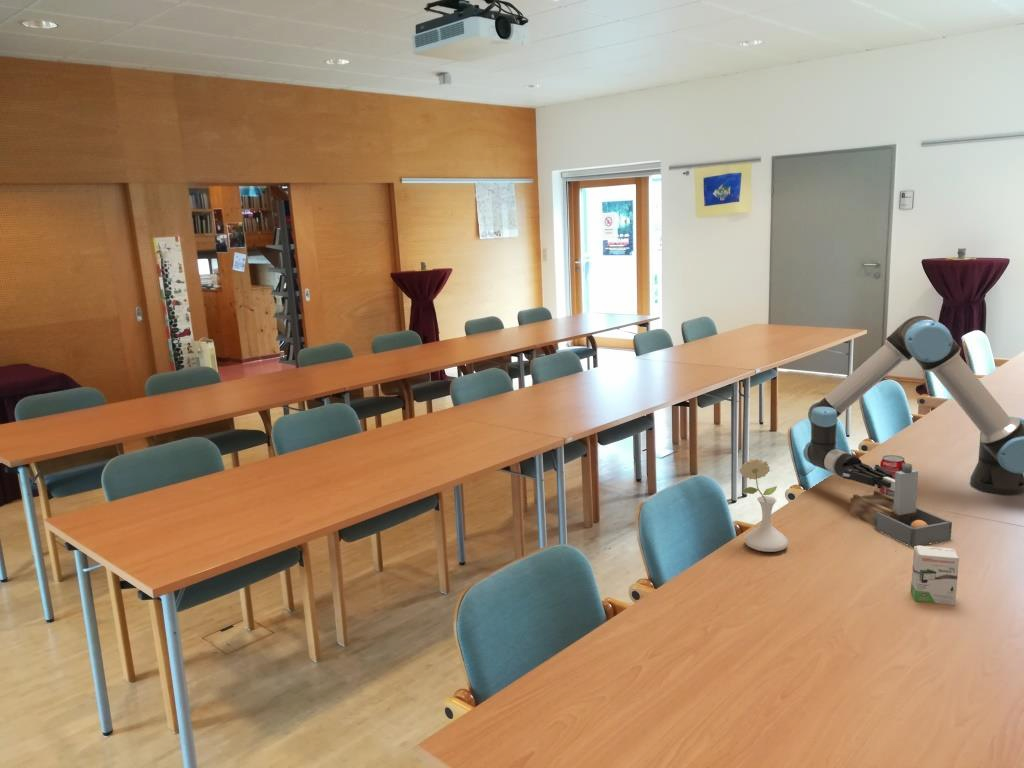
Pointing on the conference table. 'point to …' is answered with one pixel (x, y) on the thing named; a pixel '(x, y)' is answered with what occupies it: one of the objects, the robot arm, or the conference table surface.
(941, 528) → the tray
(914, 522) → the ball
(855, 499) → the wooden box
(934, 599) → the ink box
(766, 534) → the flower in vase
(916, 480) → the block with cylinder top
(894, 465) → the soda can
